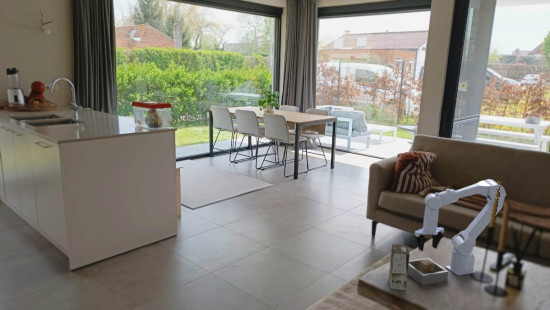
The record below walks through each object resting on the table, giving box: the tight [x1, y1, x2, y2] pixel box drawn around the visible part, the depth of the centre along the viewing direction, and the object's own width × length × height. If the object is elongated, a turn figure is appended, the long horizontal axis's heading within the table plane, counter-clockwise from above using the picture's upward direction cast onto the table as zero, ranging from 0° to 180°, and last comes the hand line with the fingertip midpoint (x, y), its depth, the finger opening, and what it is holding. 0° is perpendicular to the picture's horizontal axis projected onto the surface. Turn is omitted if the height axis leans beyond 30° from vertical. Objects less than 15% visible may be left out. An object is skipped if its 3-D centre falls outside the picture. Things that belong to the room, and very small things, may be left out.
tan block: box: [418, 259, 434, 274], centre depth 174 cm, size 4×4×6 cm
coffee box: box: [388, 243, 411, 291], centre depth 166 cm, size 9×6×16 cm
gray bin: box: [407, 257, 449, 286], centre depth 174 cm, size 13×13×4 cm
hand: (427, 248), depth 180 cm, fingers open, 7 cm apart
